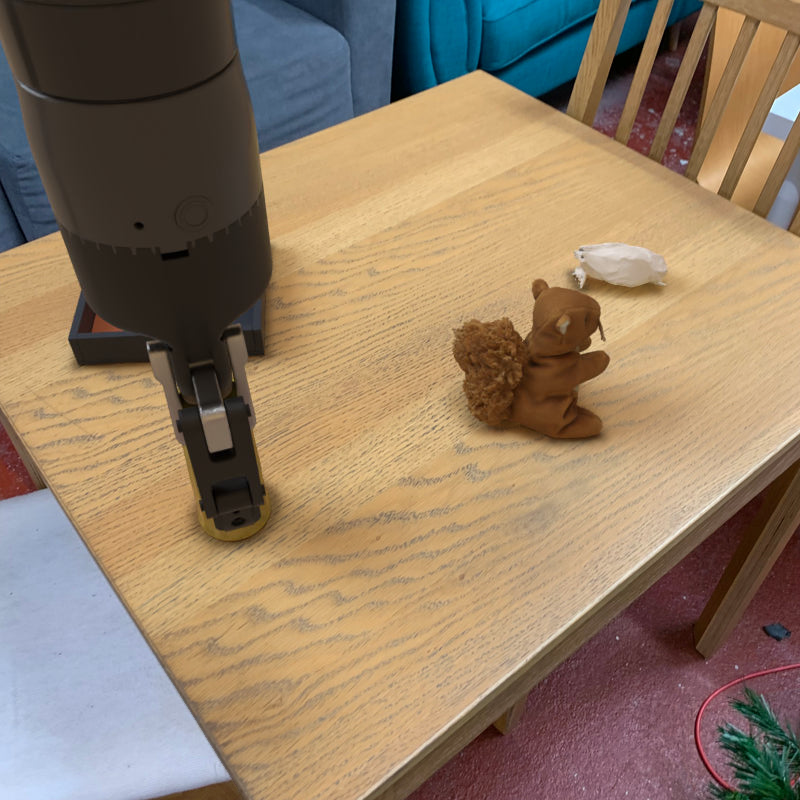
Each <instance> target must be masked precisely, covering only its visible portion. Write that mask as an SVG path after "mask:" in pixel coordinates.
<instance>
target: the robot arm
mask: <svg viewBox="0 0 800 800" xmlns="http://www.w3.org/2000/svg"><path fill="white" fill-rule="evenodd" d="M0 43H1V47H2V48H3V52H4V56H5V57H6V61H7V63H8V66H9V70H10V71H11V74H12V78H13V82H14V85H15V89H16V91H17V97H18V101H19V105H20V111H21V116H22V122H23V127H24V131H25V135H26V139H27V143H28V146H29V149H30V153H31V155H32V158H33V160H34V163H35V166H36V169H37V171H38V175H39V177H40V180H41V183H42V185H43V189H44V191H45V194H46V196H47V200H48V202H49V205H50V208H51V210H52V212H53V216H54V219H55V221H56V224H57V226H58V230H59V232H60V235H61V238H62V240H63V243H64V246H65V248H66V252H67V255H68V256H69V257H68V258H69V260H70V263H71V265H72V268H73V271H74V273H75V276H76V279H77V282H78V284H79V287H80V289H81V290H82V293H83V295H84V298H85V300H86V302H87V303H88V305H89V306H90V308H91V309H92V310H93V311H94V312H95V313H96V314H97V315H98V316H99V317H100V318H101V319H103V320H104V321H105V322H107V323H109V324H110V325H112V326H114V327H116V328H118V329H121V330H123V331H126V332H129V333H133V334H137V335H142V336H146V337H149V338H153V339H156V340H153V341H148V342H146V345H147V350H148V355H149V359H150V366H151V371H152V374H153V378H154V379H155V380H156V381H157V382H159V383H160V384H161V385H162V388H163V392H164V396H165V401H166V405H167V409H168V412H169V416H170V417H169V418H170V420H171V425H172V429H173V432H174V435H175V436H174V437H175V439H176V441H177V443H178V444H180V445H181V446H182V445H184V446H186V447H187V451H188V454H189V458H190V461H191V465H192V468H193V472H194V475H195V480H196V484H197V487H198V489H199V493H200V496H201V500H199V504H200V508H201V512H204V511H205V514H206V517H207V519H211V518H213V521H214V524H215V528H216V529H217V530H220V531H225V532H229V531H232V530H236V529H240V528H244V527H247V526H251V525H255V522H257V521H258V520H259V519H260V518H261V511H260V506H261V505H265V503H264V497H263V496H266V491H267V490H266V491H265V488H266V486H265V487H264V484H265V483H264V484H262V485H261V482H260V476H259V469H258V464H257V461H256V456H255V450H254V445H253V440H252V435H251V430H252V429H253V430H254V428H255V427H256V426H257V425H256V424H257V417H256V412H255V407H254V404H253V399H252V395H251V390H250V386H249V380H248V377H247V373H246V365H247V363H248V360H249V356H248V353H247V349H246V344H245V340H244V336H243V331H242V328H241V324H240V323H237V324H232V323H233V322H234V321H235V320H236V319H237V318H239V317H240V316H241V315H243V314H244V313H245V312H247V311H248V310H249V309H250V308H251V307H253V306H254V305H255V304H256V303H257V302H258V300H259V299H260V298H261V297H262V295H263V294H264V292H265V291H266V292H267V289H268V287H269V285H270V283H271V279H272V276H273V267H274V264H273V263H274V261H273V254H272V253H273V252H272V246H271V245H272V244H271V237H270V228H269V220H268V211H267V205H266V204H267V203H266V194H265V187H264V179H263V171H262V164H261V156H260V155H261V154H260V146H259V140H258V131H257V123H256V117H255V111H254V107H253V106H254V105H253V101H252V97H251V94H250V88H249V86H248V82H247V78H246V75H245V72H244V67H243V63H242V59H241V53H240V48H239V43H238V35H237V27H236V19H235V12H234V4H233V0H0ZM81 290H80V291H81ZM231 324H232V325H231ZM232 377H233V378H234V382H235V387H236V391H237V395H238V397H233V398H229V399H224V398H225V397H227V396H228V395H229V394H230V392H231V390H232ZM178 388H179V390H180V392H181V395H182V397H183V398H184V399H185V400H186V402H188V403H190V404H195V405H197V404H198V408H197V406H193V407H189V408H184V409H182V405H181V401H180V397H179V392H178ZM222 399H224V402H223V400H222Z"/></svg>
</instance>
